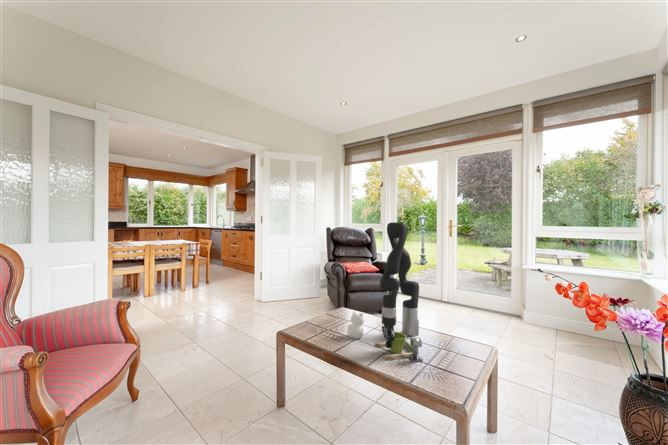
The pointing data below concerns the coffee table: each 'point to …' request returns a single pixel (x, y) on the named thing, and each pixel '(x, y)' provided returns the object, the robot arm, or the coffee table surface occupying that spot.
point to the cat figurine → (356, 325)
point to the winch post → (415, 348)
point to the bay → (398, 356)
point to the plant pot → (398, 343)
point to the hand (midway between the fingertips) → (388, 347)
